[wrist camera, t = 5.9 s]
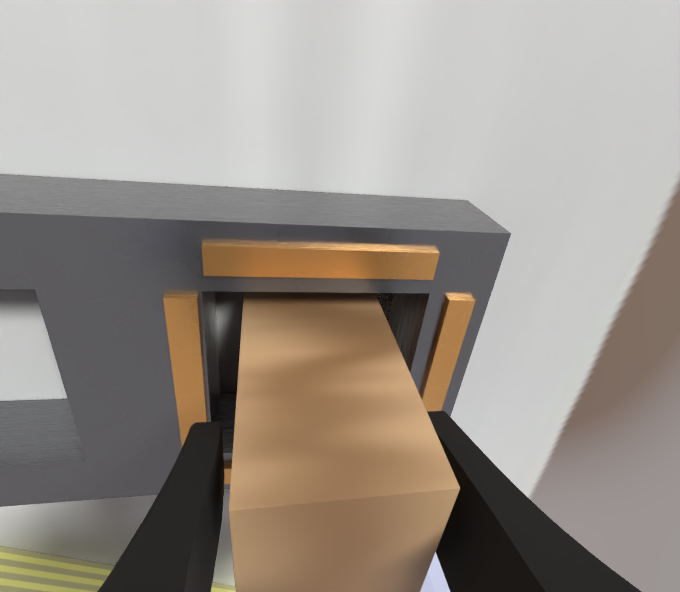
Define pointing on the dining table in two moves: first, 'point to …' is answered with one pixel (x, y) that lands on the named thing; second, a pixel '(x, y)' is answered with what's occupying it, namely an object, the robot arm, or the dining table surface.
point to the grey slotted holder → (207, 309)
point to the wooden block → (331, 451)
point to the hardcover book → (56, 573)
